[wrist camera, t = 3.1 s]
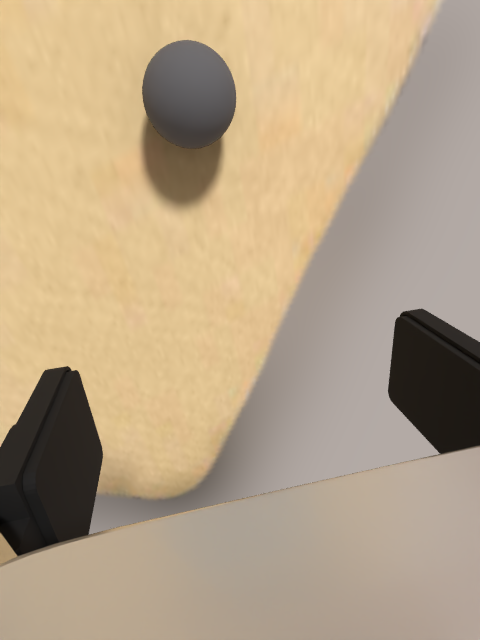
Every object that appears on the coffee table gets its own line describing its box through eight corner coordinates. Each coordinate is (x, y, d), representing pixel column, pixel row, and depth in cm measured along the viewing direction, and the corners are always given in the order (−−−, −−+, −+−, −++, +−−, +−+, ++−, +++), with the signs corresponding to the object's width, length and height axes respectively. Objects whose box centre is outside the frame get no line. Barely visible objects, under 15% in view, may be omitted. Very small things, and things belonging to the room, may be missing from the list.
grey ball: (230, 145, 24) (248, 143, 19) (151, 152, 23) (150, 151, 19) (223, 51, 22) (241, 25, 17) (135, 55, 21) (131, 28, 17)
